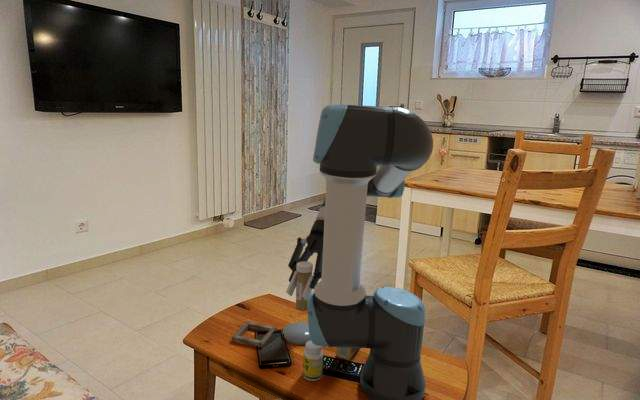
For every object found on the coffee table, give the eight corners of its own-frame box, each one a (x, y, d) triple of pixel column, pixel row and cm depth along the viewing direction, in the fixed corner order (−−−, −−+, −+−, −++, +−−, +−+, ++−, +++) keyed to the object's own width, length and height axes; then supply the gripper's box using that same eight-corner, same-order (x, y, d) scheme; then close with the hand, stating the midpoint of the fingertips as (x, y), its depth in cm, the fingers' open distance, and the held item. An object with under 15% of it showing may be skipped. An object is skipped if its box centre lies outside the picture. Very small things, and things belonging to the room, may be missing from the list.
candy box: (350, 361, 109) (353, 307, 106) (335, 356, 111) (338, 302, 108) (363, 345, 116) (367, 294, 113) (349, 341, 118) (352, 290, 115)
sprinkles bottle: (311, 311, 118) (313, 266, 115) (295, 312, 117) (297, 266, 114) (310, 304, 122) (311, 260, 119) (294, 304, 122) (295, 260, 119)
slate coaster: (325, 329, 124) (325, 326, 124) (313, 348, 114) (313, 344, 114) (291, 322, 127) (291, 319, 127) (276, 340, 117) (276, 336, 117)
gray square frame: (276, 331, 122) (276, 327, 121) (262, 348, 113) (262, 343, 112) (247, 325, 124) (247, 321, 124) (231, 341, 115) (231, 336, 115)
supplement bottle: (300, 371, 104) (301, 340, 102) (318, 368, 105) (320, 337, 103) (305, 383, 99) (307, 350, 97) (324, 380, 101) (326, 348, 99)
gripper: (356, 236, 125) (328, 309, 114) (305, 226, 133) (275, 294, 122) (349, 223, 119) (320, 298, 108) (297, 213, 127) (265, 283, 116)
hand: (296, 295), depth 115 cm, fingers closed on sprinkles bottle, 4 cm apart
